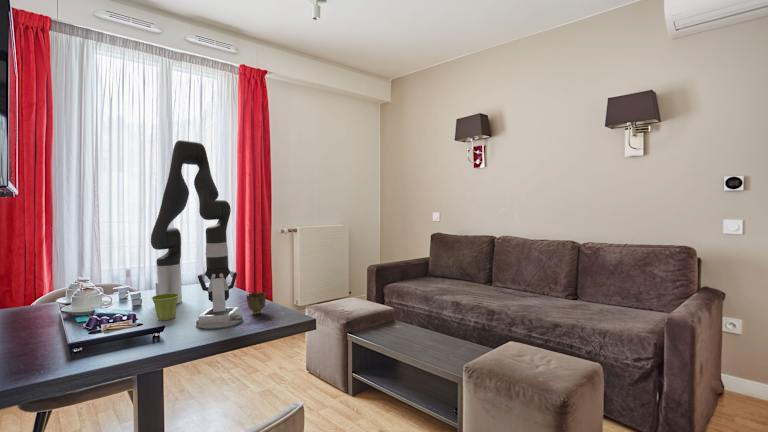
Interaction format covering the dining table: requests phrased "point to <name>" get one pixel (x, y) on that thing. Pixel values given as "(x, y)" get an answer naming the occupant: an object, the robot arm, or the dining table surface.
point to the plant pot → (165, 305)
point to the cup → (256, 302)
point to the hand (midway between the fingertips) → (218, 300)
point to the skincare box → (218, 294)
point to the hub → (219, 319)
